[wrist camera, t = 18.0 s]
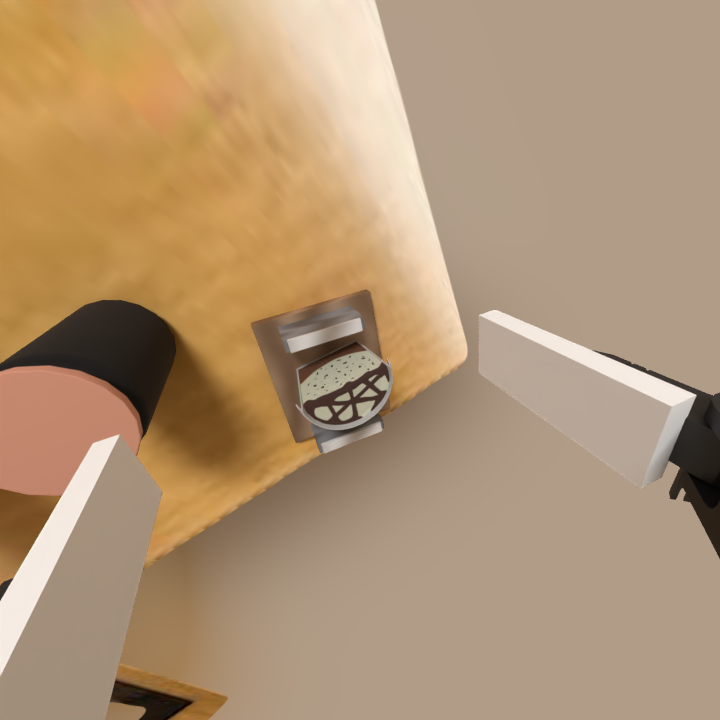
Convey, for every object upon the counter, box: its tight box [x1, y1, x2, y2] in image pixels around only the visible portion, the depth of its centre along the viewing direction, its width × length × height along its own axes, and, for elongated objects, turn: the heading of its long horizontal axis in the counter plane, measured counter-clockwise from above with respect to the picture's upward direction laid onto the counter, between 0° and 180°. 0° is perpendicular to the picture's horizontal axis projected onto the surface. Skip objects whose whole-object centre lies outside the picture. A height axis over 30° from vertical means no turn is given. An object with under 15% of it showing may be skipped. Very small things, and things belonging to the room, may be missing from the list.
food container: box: [296, 340, 393, 430], centre depth 42 cm, size 12×6×10 cm, turn 110°
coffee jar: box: [0, 300, 176, 496], centre depth 30 cm, size 11×11×18 cm
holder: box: [251, 290, 390, 453], centre depth 45 cm, size 16×20×7 cm
